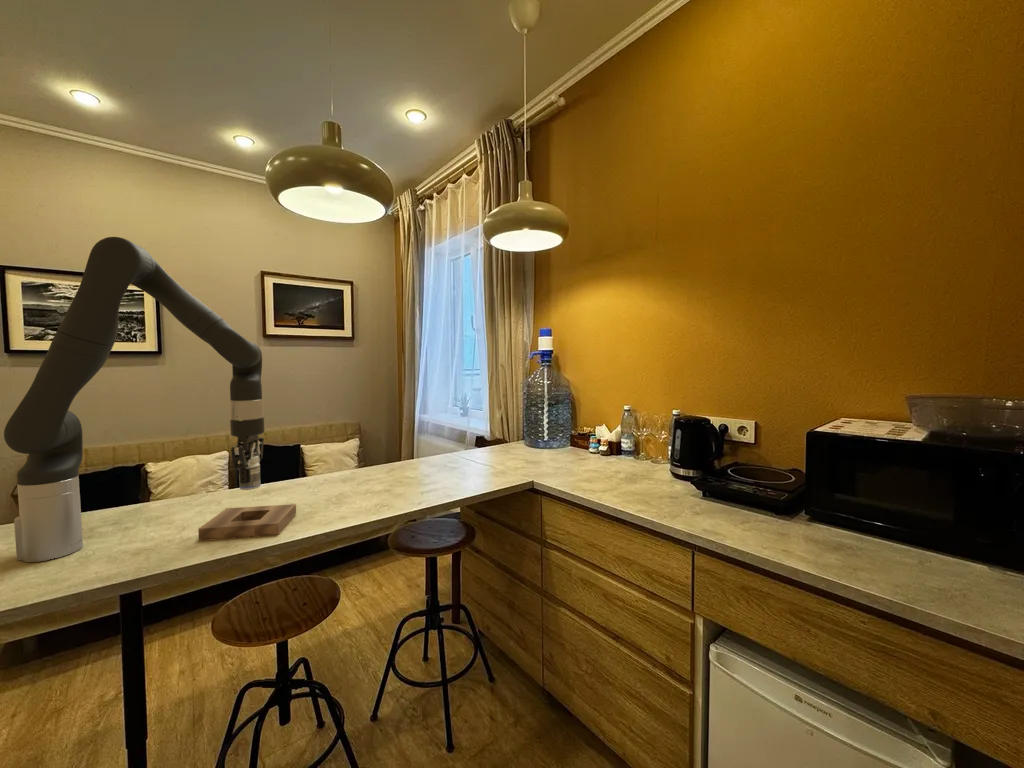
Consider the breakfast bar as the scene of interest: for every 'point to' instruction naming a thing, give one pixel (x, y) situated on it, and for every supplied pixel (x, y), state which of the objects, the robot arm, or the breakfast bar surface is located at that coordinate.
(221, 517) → the socket block
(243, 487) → the pill bottle
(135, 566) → the breakfast bar surface
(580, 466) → the breakfast bar surface
